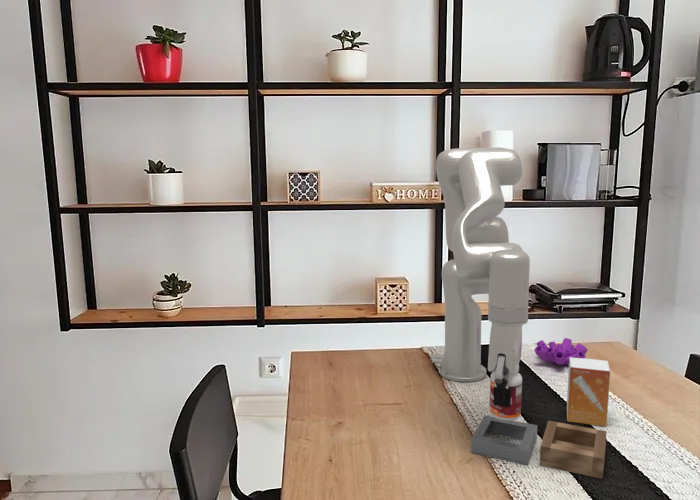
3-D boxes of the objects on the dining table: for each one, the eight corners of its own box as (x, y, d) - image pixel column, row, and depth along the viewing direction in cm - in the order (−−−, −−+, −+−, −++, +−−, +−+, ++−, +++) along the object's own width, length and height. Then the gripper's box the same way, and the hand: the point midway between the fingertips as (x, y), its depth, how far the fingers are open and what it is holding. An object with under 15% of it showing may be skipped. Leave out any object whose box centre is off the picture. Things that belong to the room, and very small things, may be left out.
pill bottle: (483, 415, 113) (485, 364, 111) (497, 404, 117) (498, 355, 115) (513, 425, 109) (514, 372, 107) (526, 413, 113) (527, 362, 111)
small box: (567, 422, 123) (569, 366, 120) (566, 409, 129) (568, 356, 126) (607, 427, 120) (610, 370, 118) (604, 414, 126) (607, 359, 123)
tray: (539, 465, 107) (540, 445, 106) (547, 438, 116) (548, 420, 115) (602, 478, 102) (603, 458, 101) (605, 449, 111) (606, 431, 111)
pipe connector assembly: (587, 375, 156) (600, 356, 149) (536, 379, 154) (547, 360, 147) (571, 341, 163) (583, 322, 156) (522, 344, 161) (532, 325, 154)
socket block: (471, 452, 111) (471, 438, 111) (484, 428, 121) (484, 415, 121) (528, 465, 107) (528, 450, 106) (536, 438, 116) (537, 425, 116)
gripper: (498, 299, 118) (496, 379, 122) (477, 323, 103) (476, 413, 106) (534, 303, 115) (531, 385, 118) (519, 328, 100) (516, 421, 103)
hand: (505, 397), depth 112 cm, fingers closed on pill bottle, 6 cm apart
